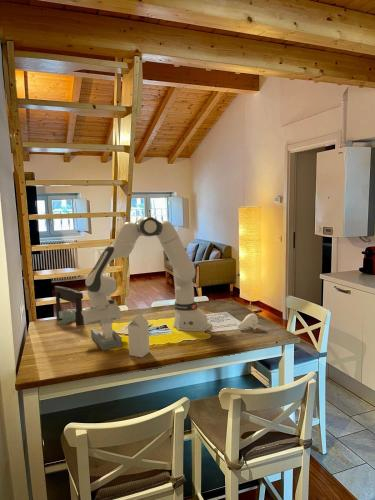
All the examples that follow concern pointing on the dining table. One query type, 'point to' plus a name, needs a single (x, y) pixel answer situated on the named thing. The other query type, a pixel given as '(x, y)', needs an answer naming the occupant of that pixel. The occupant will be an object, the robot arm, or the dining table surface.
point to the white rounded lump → (249, 322)
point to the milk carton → (138, 336)
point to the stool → (67, 314)
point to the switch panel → (106, 343)
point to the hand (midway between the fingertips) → (106, 328)
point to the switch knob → (107, 328)
